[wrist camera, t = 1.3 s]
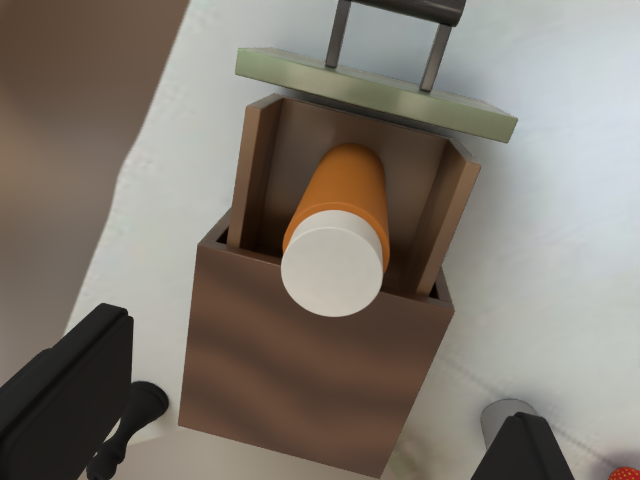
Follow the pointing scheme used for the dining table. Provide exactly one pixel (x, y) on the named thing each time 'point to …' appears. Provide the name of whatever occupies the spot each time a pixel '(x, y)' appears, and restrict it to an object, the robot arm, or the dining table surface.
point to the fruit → (625, 474)
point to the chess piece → (128, 428)
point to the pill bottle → (339, 234)
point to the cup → (500, 416)
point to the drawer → (380, 136)
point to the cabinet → (303, 361)
